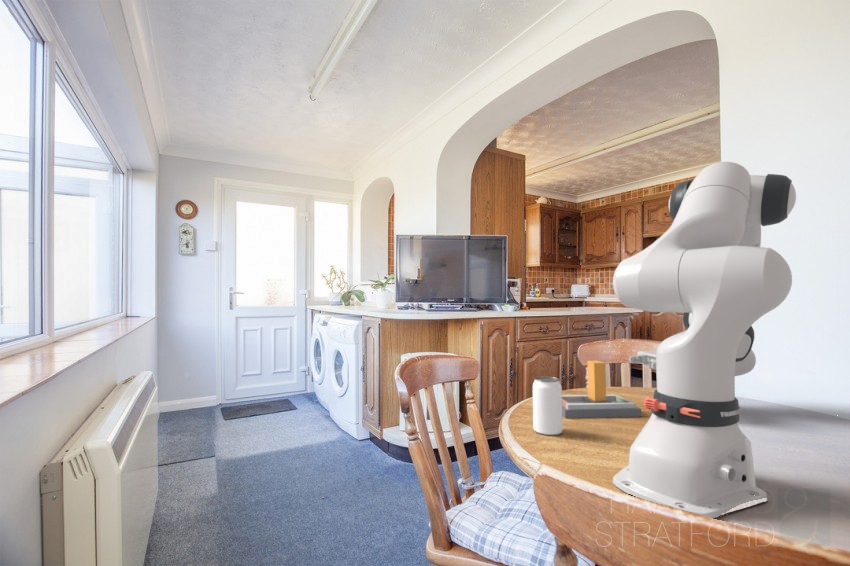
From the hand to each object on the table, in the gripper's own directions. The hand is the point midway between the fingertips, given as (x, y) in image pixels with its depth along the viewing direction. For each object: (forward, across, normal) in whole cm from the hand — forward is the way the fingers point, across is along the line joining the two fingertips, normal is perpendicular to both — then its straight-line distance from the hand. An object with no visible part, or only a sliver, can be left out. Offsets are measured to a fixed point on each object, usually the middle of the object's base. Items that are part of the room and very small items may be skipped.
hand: (640, 362), depth 108 cm
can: (+32, +15, +12) cm, 37 cm away
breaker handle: (+13, 0, +10) cm, 16 cm away
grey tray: (+14, 0, +13) cm, 19 cm away
